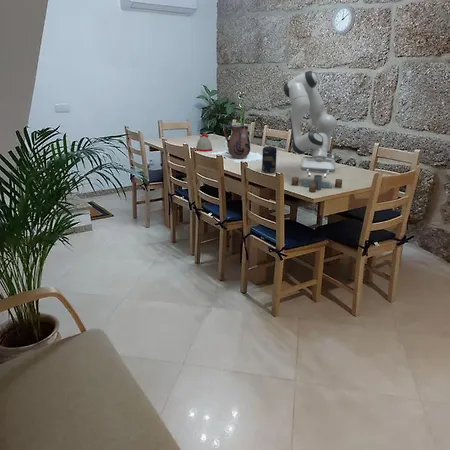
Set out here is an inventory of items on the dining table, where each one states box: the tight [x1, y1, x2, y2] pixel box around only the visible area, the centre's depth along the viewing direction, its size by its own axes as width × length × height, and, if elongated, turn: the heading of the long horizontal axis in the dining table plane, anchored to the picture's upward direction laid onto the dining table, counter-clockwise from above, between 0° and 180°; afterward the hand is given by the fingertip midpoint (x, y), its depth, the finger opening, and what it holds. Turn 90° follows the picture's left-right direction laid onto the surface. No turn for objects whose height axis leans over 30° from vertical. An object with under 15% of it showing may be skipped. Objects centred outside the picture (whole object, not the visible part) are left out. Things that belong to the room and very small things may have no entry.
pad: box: [302, 180, 331, 189], centre depth 263 cm, size 12×16×1 cm
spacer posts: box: [291, 176, 343, 193], centre depth 254 cm, size 17×30×4 cm, turn 81°
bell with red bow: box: [195, 132, 213, 153], centre depth 366 cm, size 14×14×15 cm
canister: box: [261, 145, 278, 174], centre depth 291 cm, size 10×10×18 cm
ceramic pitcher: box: [223, 124, 251, 160], centre depth 335 cm, size 18×21×25 cm
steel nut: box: [313, 174, 323, 191], centre depth 253 cm, size 5×4×8 cm
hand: (317, 176), depth 254 cm, fingers open, 8 cm apart
